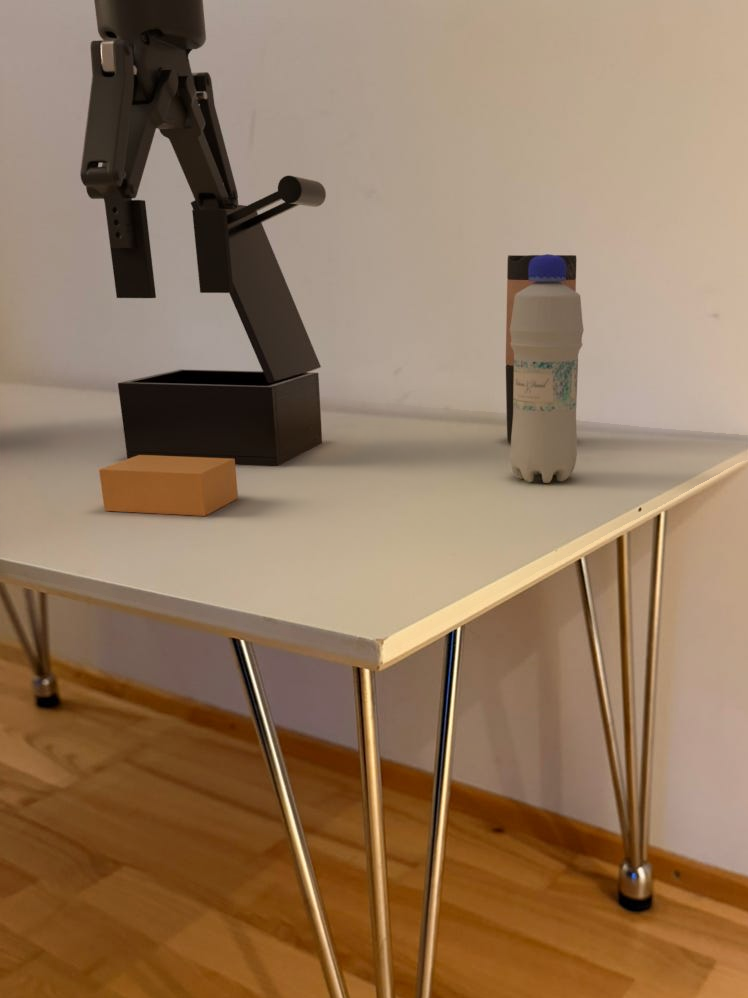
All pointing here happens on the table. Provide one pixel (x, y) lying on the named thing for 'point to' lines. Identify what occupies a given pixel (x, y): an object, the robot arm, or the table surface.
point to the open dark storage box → (221, 415)
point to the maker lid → (270, 282)
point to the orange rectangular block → (169, 485)
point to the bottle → (545, 372)
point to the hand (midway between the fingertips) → (179, 295)
